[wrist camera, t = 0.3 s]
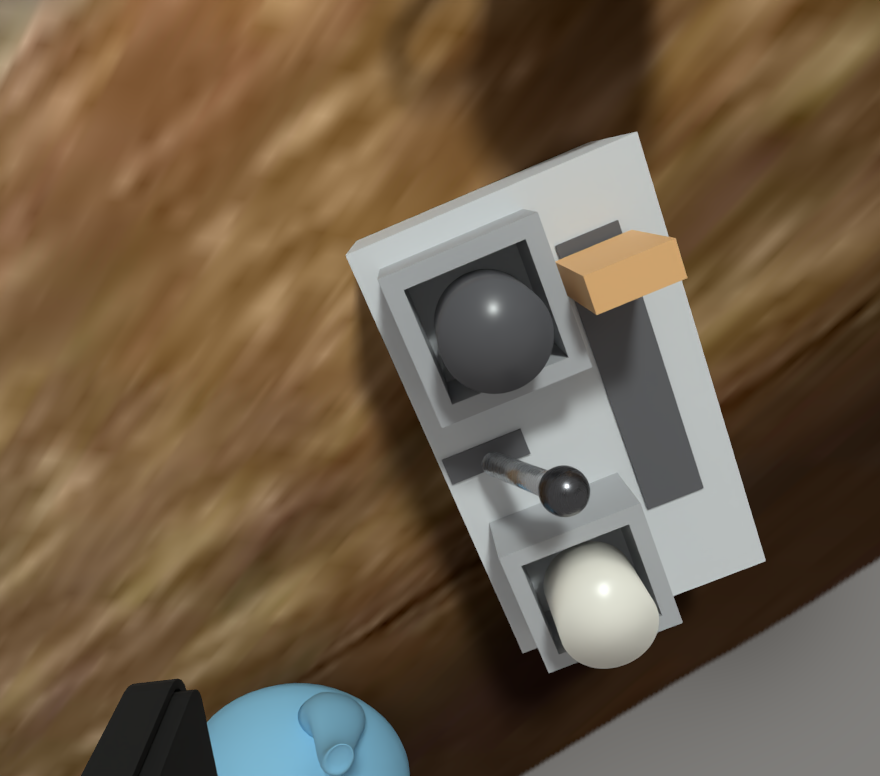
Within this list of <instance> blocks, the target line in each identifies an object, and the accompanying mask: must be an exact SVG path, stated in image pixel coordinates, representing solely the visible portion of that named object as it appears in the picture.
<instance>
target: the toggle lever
mask: <svg viewBox="0 0 880 776" xmlns="http://www.w3.org/2000/svg"><path fill="white" fill-rule="evenodd" d="M482 468H483V470H484V472H485V473H486V474H488V475H490V476H492V477H494V478H497V479H499V480H502V481H504V482H506V483H509V484H511V485H514V486H516V487H518V488H521V489H523V490H525V491H528V492H530V493H533V494H535V495H537V496H539V499H540V502H541V504H542V505H543V507H544V508H545V509H546V510H547V511H548V512H550V513H551V514H553V515H555V516H558V517H571V516H574V515H577V514H578V513H580V512H581V511H582V510H583V509H584V508H585V507H586V505H587V504H588V501H589V498H590V486H589V482H588V480H587V478H586V477H585V475H584V474H583V473H582V472H581V471H579V470H578V469H576V468H574V467H572V466H567V465H560V466H556V467H553V468H551V469H549V470H546V469H543V468H540V467H537V466H534V465H532V464H529V463H526V462H523V461H520V460H517V459H515V458H512V457H509V456H506V455H503V454H500V453H498V452H490V453H488V454H486V455H485V456H484V458H483V460H482Z"/></svg>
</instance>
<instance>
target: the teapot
mask: <svg viewBox="0 0 880 776" xmlns="http://www.w3.org/2000/svg"><path fill="white" fill-rule="evenodd" d="M207 727H208V731H209V736H210V741H211V746H212V750H213V755H214V760H215V765H216V770H217V774H218V776H410V772H409V763H408V759H407V755H406V752H405V750H404V747H403V745H402V743H401V741H400V739H399V737H398V735H397V734H396V732H395V730H394V729H393V727H392V726H391V725H390V724H389V723H388V721H387V720H386V719H385V718H384V717H383V716H382V715H381V714H379V713H378V712H377V711H376V710H375V709H374V708H372V707H371V706H369V705H368V704H366V703H365V702H363V701H362V700H360V699H358V698H356V697H354V696H352V695H350V694H348V693H346V692H343V691H340V690H338V689H335V688H331V687H327V686H323V685H317V684H309V683H290V684H280V685H275V686H271V687H266V688H263V689H260V690H257V691H254V692H251V693H248V694H246V695H244V696H241V697H239V698H237V699H235V700H234V701H232V702H230V703H229V704H227V705H226V706H224V707H223V708H222V709H221V710H219V711H218V712H217V713H216V714H214V715H213V716H212V718H211V719H210V720H209V721H208V722H207Z"/></svg>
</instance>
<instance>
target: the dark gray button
mask: <svg viewBox="0 0 880 776" xmlns="http://www.w3.org/2000/svg"><path fill="white" fill-rule="evenodd" d="M434 328H435V333H436V338H437V342H438V346H439V350H440V354H441V357H442V360H443V362H444V364H445V366H446V368H447V369H448V371H449V372H450V373H451V375H452V376H453V377H454V378H455V379H456V380H457V381H459V382H460V383H461V384H463V385H464V386H466V387H468V388H470V389H472V390H475V391H478V392H481V393H487V394H501V393H507V392H511V391H514V390H517V389H519V388H521V387H523V386H525V385H526V384H528V383H529V382H531V381H532V380H533V379H534V378H535V377H536V376H537V375H538V374H539V373H540V372H541V371H542V369H543V368H544V367H545V365H546V363H547V361H548V360H549V357H550V355H551V352H552V348H553V343H554V327H553V322H552V318H551V315H550V313H549V311H548V309H547V307H546V306H545V304H544V302H543V301H542V300H541V299H540V298H539V297H538V296H537V295H536V294H535V293H534V292H533V291H532V290H530V289H529V288H528V287H527V286H525V285H524V284H523V283H522V282H520V281H519V280H518V279H516V278H515V277H514V276H512V275H510V274H508V273H506V272H503V271H500V270H495V269H479V270H474V271H471V272H468V273H465V274H463V275H461V276H460V277H458V278H457V279H455V280H454V281H453V282H452V283H450V284H449V285H448V287H447V288H446V289H445V290H444V292H443V293H442V295H441V296H440V298H439V300H438V303H437V306H436V309H435V314H434Z"/></svg>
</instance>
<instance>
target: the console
mask: <svg viewBox="0 0 880 776" xmlns="http://www.w3.org/2000/svg"><path fill="white" fill-rule="evenodd" d="M630 230H636V231H641V232H647V233H652V234H657V235H662V236H667V237H669V236H668V233H667V230H666V226H665V223H664V220H663V216H662V213H661V210H660V206H659V203H658V200H657V196H656V193H655V190H654V186H653V183H652V180H651V176H650V173H649V170H648V166H647V163H646V160H645V156H644V153H643V150H642V146H641V143H640V140H639V136H638V133H637V132H633V133H628V134H624V135H619V136H615V137H610V138H606V139H602V140H597V141H593V142H588V143H586V144H583V145H581V146H579V147H576V148H574V149H572V150H569V151H567V152H565V153H562V154H560V155H558V156H555V157H553V158H551V159H548V160H546V161H543V162H541V163H539V164H536V165H534V166H532V167H529V168H527V169H525V170H522V171H520V172H518V173H515V174H513V175H511V176H508V177H506V178H503V179H501V180H499V181H496V182H494V183H492V184H489V185H487V186H485V187H482V188H480V189H478V190H475V191H473V192H470V193H468V194H466V195H463V196H461V197H459V198H456V199H454V200H452V201H449V202H447V203H445V204H442V205H440V206H438V207H435V208H433V209H430V210H428V211H426V212H423V213H421V214H419V215H416V216H414V217H412V218H409V219H407V220H405V221H402V222H400V223H398V224H395V225H393V226H390V227H388V228H386V229H383V230H381V231H379V232H376V233H374V234H372V235H369V236H367V237H365V238H362V239H360V240H358V241H356V242H355V244H354V245H353V246H352V247H351V249H350V250H349V251H348V253H347V254H346V257H347V260H348V262H349V264H350V266H351V269H352V271H353V273H354V275H355V278H356V280H357V282H358V284H359V287H360V289H361V291H362V293H363V296H364V298H365V300H366V302H367V305H368V307H369V309H370V311H371V314H372V316H373V318H374V320H375V322H376V325H377V327H378V329H379V331H380V334H381V336H382V338H383V340H384V343H385V345H386V347H387V349H388V352H389V354H390V356H391V358H392V361H393V363H394V365H395V367H396V370H397V372H398V374H399V376H400V379H401V381H402V383H403V385H404V388H405V390H406V392H407V394H408V397H409V399H410V401H411V403H412V406H413V408H414V410H415V412H416V415H417V417H418V419H419V421H420V424H421V426H422V428H423V430H424V433H425V435H426V437H427V439H428V442H429V444H430V446H431V448H432V451H433V453H434V455H435V457H436V460H437V462H438V464H439V466H440V469H441V471H442V473H443V475H444V478H445V480H446V482H447V484H448V487H449V489H450V491H451V493H452V496H453V498H454V500H455V502H456V505H457V507H458V509H459V511H460V514H461V516H462V518H463V520H464V523H465V525H466V527H467V529H468V532H469V534H470V536H471V538H472V540H473V543H474V545H475V547H476V549H477V552H478V554H479V556H480V558H481V561H482V563H483V565H484V567H485V570H486V572H487V574H488V576H489V579H490V581H491V583H492V585H493V588H494V590H495V592H496V594H497V597H498V599H499V601H500V603H501V606H502V608H503V610H504V612H505V615H506V617H507V619H508V621H509V624H510V626H511V628H512V630H513V633H514V635H515V637H516V639H517V642H518V644H519V646H520V648H521V651H522V653H525V652H528V651H530V650H533V649H536V648H538V650H539V652H540V654H541V657H542V659H543V661H544V663H545V666H546V668H547V670H548V673H551V672H554V671H556V670H559V669H561V668H564V667H567V666H569V665H572V664H575V663H577V662H578V661H576V660H575V659H573V658H572V657H571V656H570V655H569V654H568V653H567V651H566V650H565V648H564V646H563V645H562V642H561V639H560V636H559V633H558V631H557V628H556V625H555V622H554V619H553V616H552V614H551V611H550V608H549V605H548V602H547V599H546V596H545V593H544V585H543V583H544V576H545V573H546V570H547V568H548V566H549V565H550V563H551V562H552V560H553V559H554V558H555V557H556V556H557V555H558V554H559V553H560V552H562V551H563V550H564V549H567V548H569V547H572V546H574V545H577V544H580V543H582V542H587V541H599V542H604V543H608V544H610V545H612V546H615V547H616V548H618V549H619V550H620V551H622V552H623V553H624V554H625V556H626V557H627V558H628V560H629V561H630V563H631V565H632V566H633V568H634V570H635V571H636V573H637V575H638V576H639V578H640V579H641V581H642V583H643V584H644V586H645V588H646V589H647V591H648V593H649V594H650V596H651V598H652V599H653V601H654V602H655V605H656V607H657V610H658V613H659V627H658V631H657V632H659V631H662V630H665V629H667V628H670V627H673V626H675V625H678V624H681V623H683V622H682V619H681V616H680V614H679V611H678V608H677V605H676V602H675V599H674V597H673V596H675V595H678V594H680V593H683V592H685V591H688V590H691V589H693V588H696V587H699V586H701V585H704V584H706V583H709V582H712V581H714V580H717V579H720V578H722V577H725V576H728V575H730V574H733V573H735V572H738V571H741V570H743V569H746V568H749V567H751V566H754V565H756V564H759V563H762V562H764V561H766V560H765V557H764V554H763V550H762V547H761V544H760V540H759V537H758V534H757V530H756V527H755V524H754V520H753V517H752V514H751V510H750V507H749V504H748V500H747V497H746V494H745V490H744V487H743V483H742V480H741V477H740V473H739V470H738V467H737V463H736V460H735V457H734V453H733V450H732V447H731V443H730V440H729V437H728V433H727V430H726V427H725V423H724V420H723V417H722V413H721V410H720V407H719V403H718V400H717V397H716V393H715V390H714V387H713V383H712V380H711V377H710V373H709V370H708V367H707V363H706V360H705V357H704V353H703V350H702V347H701V343H700V340H699V337H698V333H697V330H696V327H695V323H694V320H693V317H692V313H691V310H690V307H689V303H688V300H687V297H686V293H685V290H684V287H683V283H682V280H681V281H679V282H677V283H674V284H672V285H669V286H667V287H664V288H662V289H659V290H657V291H654V292H652V293H650V294H647V295H645V296H642V297H640V298H637V299H635V300H632V301H630V302H628V303H625V304H623V305H620V306H618V307H615V308H613V309H610V310H608V311H606V312H603V313H601V314H598V315H596V314H594V313H593V312H591V311H590V310H588V309H587V308H585V307H584V306H582V305H581V304H579V303H578V302H576V301H575V300H573V299H572V298H570V297H569V296H567V294H566V291H565V288H564V285H563V282H562V279H561V277H560V274H559V271H558V268H557V265H556V262H555V261H557V260H560V259H562V258H564V257H567V256H569V255H572V254H574V253H577V252H579V251H581V250H584V249H586V248H589V247H591V246H593V245H596V244H598V243H601V242H603V241H605V240H608V239H610V238H613V237H615V236H617V235H620V234H622V233H625V232H627V231H630ZM479 269H495V270H500V271H503V272H506V273H508V274H510V275H512V276H514V277H515V278H516V279H518V280H519V281H520V282H522V283H523V284H524V285H525V286H527V287H528V288H529V289H530V290H532V291H533V292H534V293H535V294H536V295H537V296H538V297H539V298H540V299H541V300H542V301H543V302H544V304H545V306H546V307H547V309H548V311H549V313H550V315H551V318H552V322H553V327H554V343H553V348H552V352H551V355H550V357H549V360H548V361H547V363H546V365H545V367H544V368H543V369H542V371H541V372H540V373H539V374H538V375H537V376H536V377H535V378H534V379H533V380H532V381H531V382H529V383H528V384H526V385H525V386H523V387H521V388H519V389H517V390H514V391H511V392H507V393H501V394H487V393H481V392H478V391H475V390H472V389H470V388H468V387H466V386H464V385H463V384H461V383H460V382H459V381H457V380H456V379H455V378H454V377H453V376H452V375H451V373H450V372H449V371H448V369H447V368H446V366H445V364H444V362H443V360H442V357H441V354H440V350H439V346H438V342H437V338H436V333H435V328H434V314H435V309H436V306H437V303H438V300H439V298H440V296H441V295H442V293H443V292H444V290H445V289H446V288H447V287H448V285H449V284H450V283H452V282H453V281H454V280H455V279H457V278H458V277H460V276H461V275H463V274H465V273H468V272H471V271H474V270H479ZM490 452H498V453H500V454H503V455H506V456H509V457H512V458H515V459H517V460H520V461H523V462H526V463H529V464H532V465H534V466H537V467H540V468H543V469H546V470H549V469H551V468H553V467H556V466H560V465H567V466H572V467H574V468H576V469H578V470H579V471H581V472H582V473H583V474H584V475H585V477H586V478H587V480H588V482H589V486H590V498H589V501H588V504H587V505H586V507H585V508H584V509H583V510H582V511H581V512H580V513H578V514H577V515H574V516H571V517H558V516H555V515H553V514H551V513H550V512H548V511H547V510H546V509H545V508H544V507H543V505H542V504H541V502H540V499H539V496H537V495H535V494H533V493H530V492H528V491H525V490H523V489H521V488H518V487H516V486H514V485H511V484H509V483H506V482H504V481H502V480H499V479H497V478H494V477H492V476H490V475H488V474H486V473H485V472H484V470H483V468H482V460H483V458H484V456H485V455H486V454H488V453H490Z"/></svg>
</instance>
